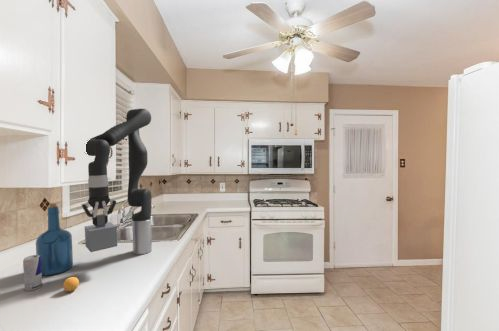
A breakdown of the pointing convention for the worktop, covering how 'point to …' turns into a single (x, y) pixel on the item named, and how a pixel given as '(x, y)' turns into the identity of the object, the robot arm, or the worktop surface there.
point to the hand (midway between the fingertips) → (100, 224)
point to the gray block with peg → (100, 235)
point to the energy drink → (32, 272)
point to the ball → (71, 284)
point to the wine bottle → (54, 245)
